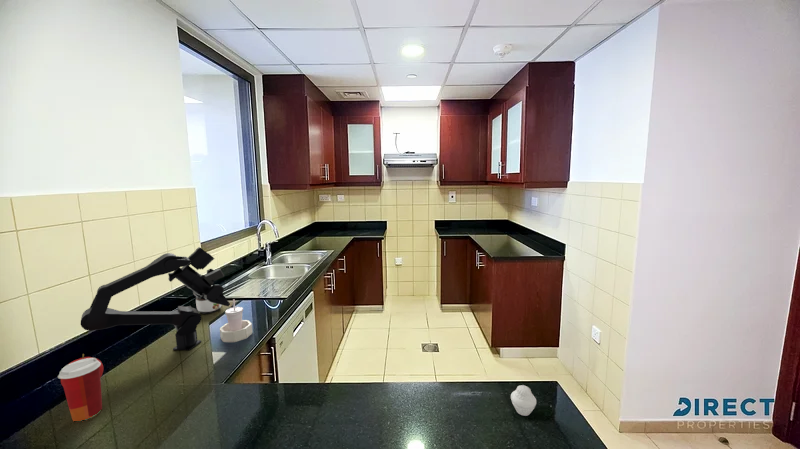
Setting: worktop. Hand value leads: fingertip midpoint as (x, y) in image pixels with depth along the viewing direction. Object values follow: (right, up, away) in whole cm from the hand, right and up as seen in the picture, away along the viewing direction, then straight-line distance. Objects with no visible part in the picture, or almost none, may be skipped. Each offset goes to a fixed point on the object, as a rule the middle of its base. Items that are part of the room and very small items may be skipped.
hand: (225, 303), depth 124 cm
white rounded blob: (+101, -17, -43) cm, 111 cm away
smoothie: (+4, -12, +1) cm, 13 cm away
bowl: (+4, -13, +1) cm, 14 cm away
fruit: (-26, -18, -29) cm, 43 cm away
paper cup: (-13, -19, -41) cm, 47 cm away
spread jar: (-23, -10, +28) cm, 37 cm away
